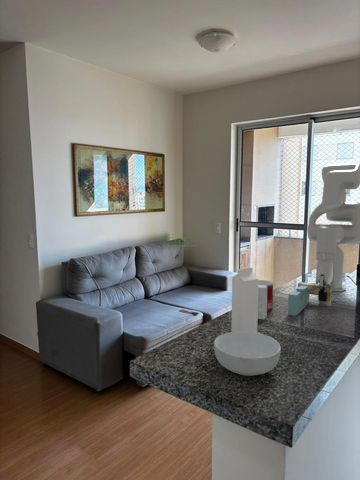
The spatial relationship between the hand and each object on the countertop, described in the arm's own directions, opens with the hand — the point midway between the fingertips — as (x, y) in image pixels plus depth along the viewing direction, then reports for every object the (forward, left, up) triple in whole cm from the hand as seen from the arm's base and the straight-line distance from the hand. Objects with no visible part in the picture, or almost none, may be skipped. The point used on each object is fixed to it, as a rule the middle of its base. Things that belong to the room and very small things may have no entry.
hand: (324, 298), depth 147 cm
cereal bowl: (+70, -4, -3) cm, 70 cm away
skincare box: (+30, -17, -3) cm, 35 cm away
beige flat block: (0, -4, -3) cm, 5 cm away
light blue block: (+13, -7, -3) cm, 15 cm away
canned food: (+20, -19, -3) cm, 28 cm away
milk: (+49, -14, -3) cm, 51 cm away
